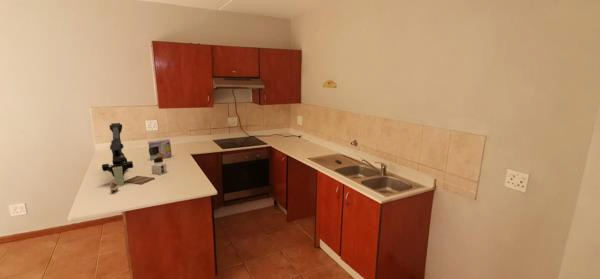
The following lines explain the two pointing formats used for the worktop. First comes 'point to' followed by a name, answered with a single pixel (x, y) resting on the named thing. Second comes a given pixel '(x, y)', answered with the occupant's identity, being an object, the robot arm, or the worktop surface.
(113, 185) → the architectural model
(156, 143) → the cake pan box
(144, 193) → the worktop surface
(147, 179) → the walnut board
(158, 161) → the container
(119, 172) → the sage block
